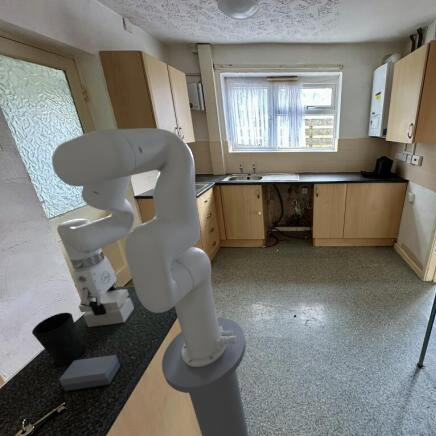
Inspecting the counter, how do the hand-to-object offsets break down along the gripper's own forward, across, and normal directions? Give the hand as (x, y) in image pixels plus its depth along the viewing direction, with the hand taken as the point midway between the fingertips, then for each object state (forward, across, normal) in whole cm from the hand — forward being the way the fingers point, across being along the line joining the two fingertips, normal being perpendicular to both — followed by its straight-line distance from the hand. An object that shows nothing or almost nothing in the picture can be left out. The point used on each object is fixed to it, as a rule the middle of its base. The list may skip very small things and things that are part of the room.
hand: (107, 305), depth 78 cm
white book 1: (+2, 0, 0) cm, 2 cm away
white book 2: (+5, 0, 0) cm, 5 cm away
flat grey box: (-1, 0, 0) cm, 1 cm away
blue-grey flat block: (+3, -22, -8) cm, 23 cm away
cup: (+5, -14, +4) cm, 15 cm away
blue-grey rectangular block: (+5, -22, -8) cm, 24 cm away
